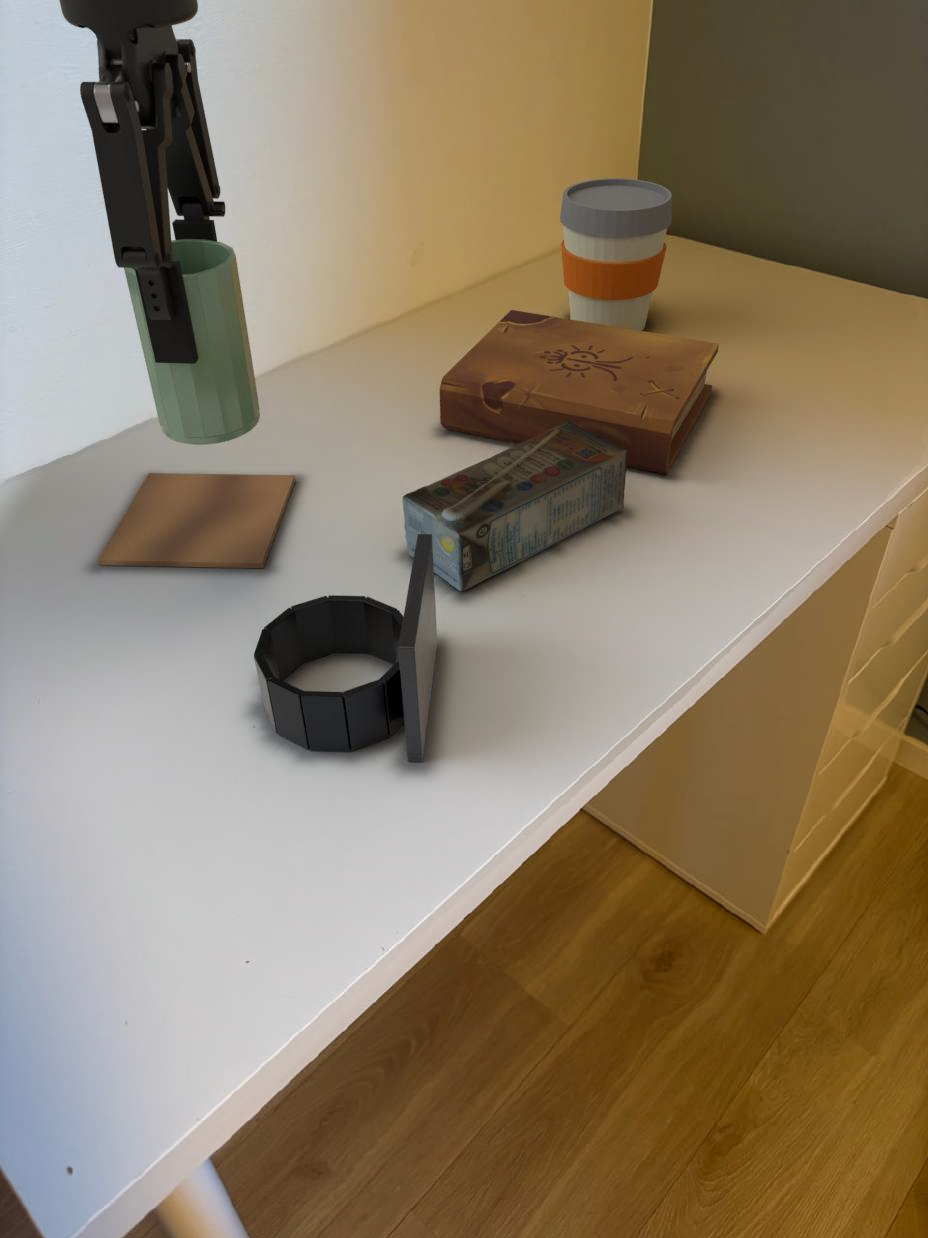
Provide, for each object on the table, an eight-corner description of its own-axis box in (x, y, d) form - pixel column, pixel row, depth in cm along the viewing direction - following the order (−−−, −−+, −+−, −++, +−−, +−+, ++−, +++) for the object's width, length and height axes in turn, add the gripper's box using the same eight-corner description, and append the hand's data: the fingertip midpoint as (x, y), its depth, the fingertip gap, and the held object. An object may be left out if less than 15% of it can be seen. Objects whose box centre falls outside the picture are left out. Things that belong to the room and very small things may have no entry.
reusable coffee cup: (650, 350, 114) (664, 215, 104) (544, 338, 117) (548, 206, 108) (667, 308, 123) (682, 181, 114) (568, 298, 126) (574, 174, 117)
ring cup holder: (249, 756, 66) (223, 643, 60) (285, 640, 75) (266, 530, 69) (422, 762, 66) (414, 647, 59) (437, 643, 75) (432, 533, 68)
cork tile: (99, 565, 84) (97, 559, 83) (150, 478, 94) (148, 472, 94) (263, 568, 83) (262, 562, 82) (295, 480, 93) (294, 474, 93)
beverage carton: (401, 553, 84) (396, 485, 80) (566, 475, 93) (569, 412, 89) (460, 597, 79) (458, 528, 75) (628, 511, 88) (635, 445, 84)
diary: (440, 433, 100) (438, 380, 96) (510, 358, 113) (510, 309, 109) (664, 478, 92) (671, 422, 89) (711, 393, 105) (719, 341, 102)
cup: (147, 443, 71) (107, 276, 63) (177, 396, 76) (143, 237, 69) (246, 446, 70) (218, 278, 63) (269, 399, 76) (246, 239, 68)
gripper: (121, -39, 47) (207, 405, 61) (231, -80, 62) (278, 282, 77) (-33, -39, 47) (88, 402, 62) (114, -80, 62) (183, 280, 77)
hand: (193, 335), depth 69 cm, fingers closed on cup, 7 cm apart
